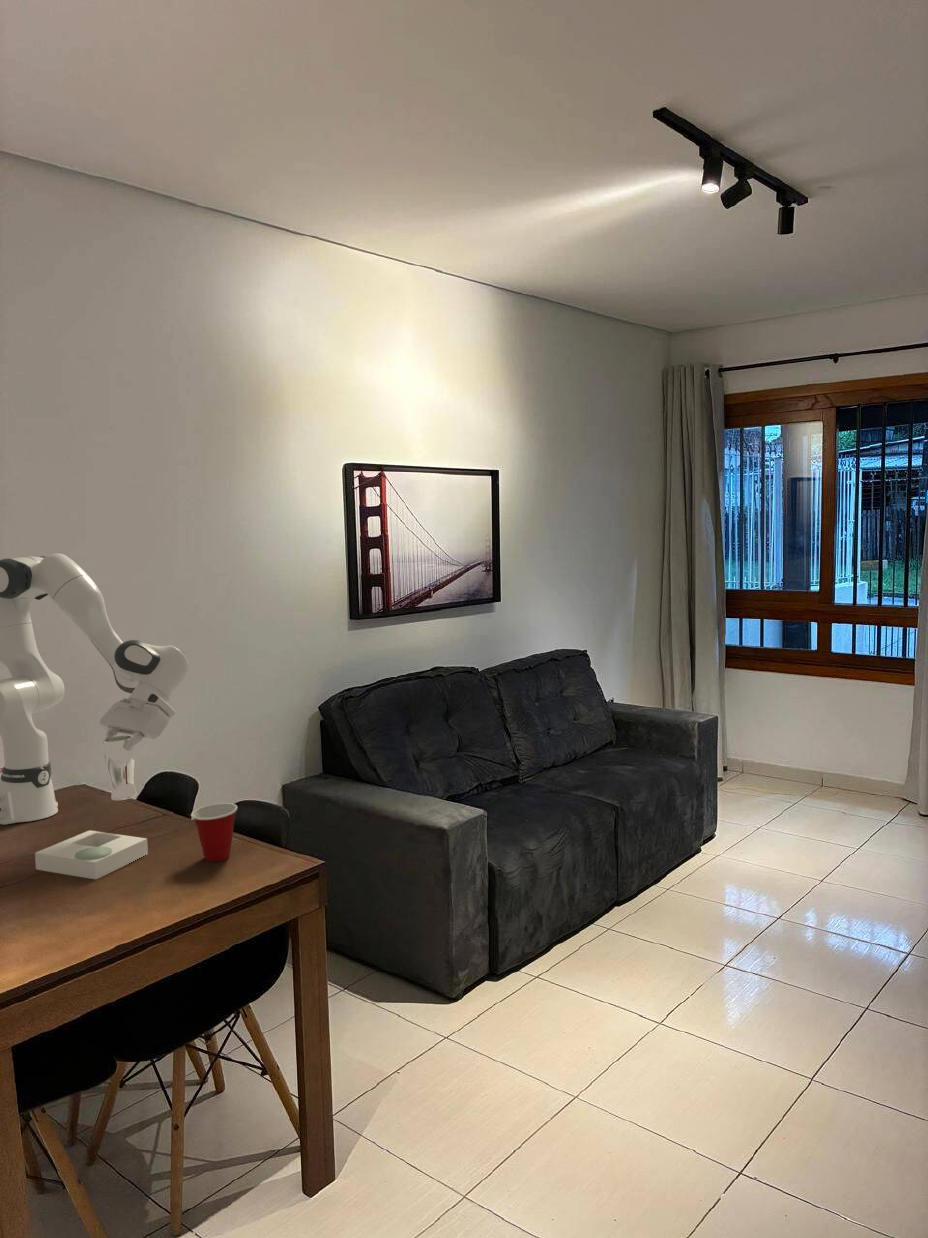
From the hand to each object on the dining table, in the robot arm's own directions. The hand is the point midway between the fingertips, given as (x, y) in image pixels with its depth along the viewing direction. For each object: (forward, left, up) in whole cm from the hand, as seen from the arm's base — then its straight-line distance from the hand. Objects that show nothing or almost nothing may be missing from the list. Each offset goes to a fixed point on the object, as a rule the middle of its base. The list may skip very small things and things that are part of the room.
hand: (115, 747), depth 233 cm
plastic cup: (+30, -1, -25) cm, 39 cm away
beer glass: (+1, +1, -13) cm, 13 cm away
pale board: (+4, -14, -24) cm, 28 cm away
